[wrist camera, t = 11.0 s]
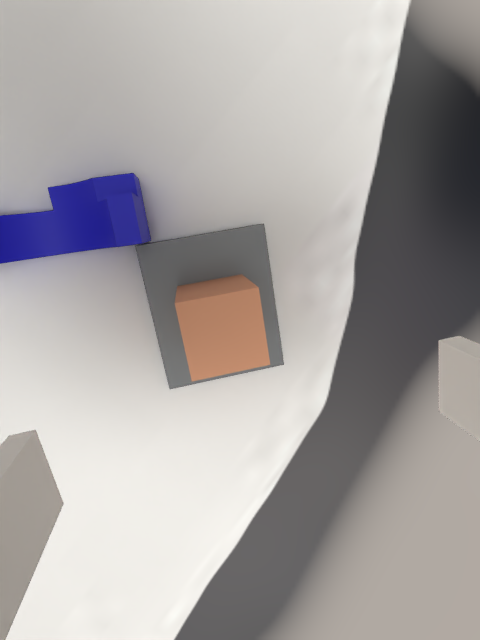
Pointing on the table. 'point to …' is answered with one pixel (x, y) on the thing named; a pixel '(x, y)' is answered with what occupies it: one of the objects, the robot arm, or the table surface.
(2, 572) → the robot arm
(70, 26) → the table surface
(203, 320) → the peach clay cube
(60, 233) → the blue arch bracket
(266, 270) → the stand
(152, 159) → the table surface
